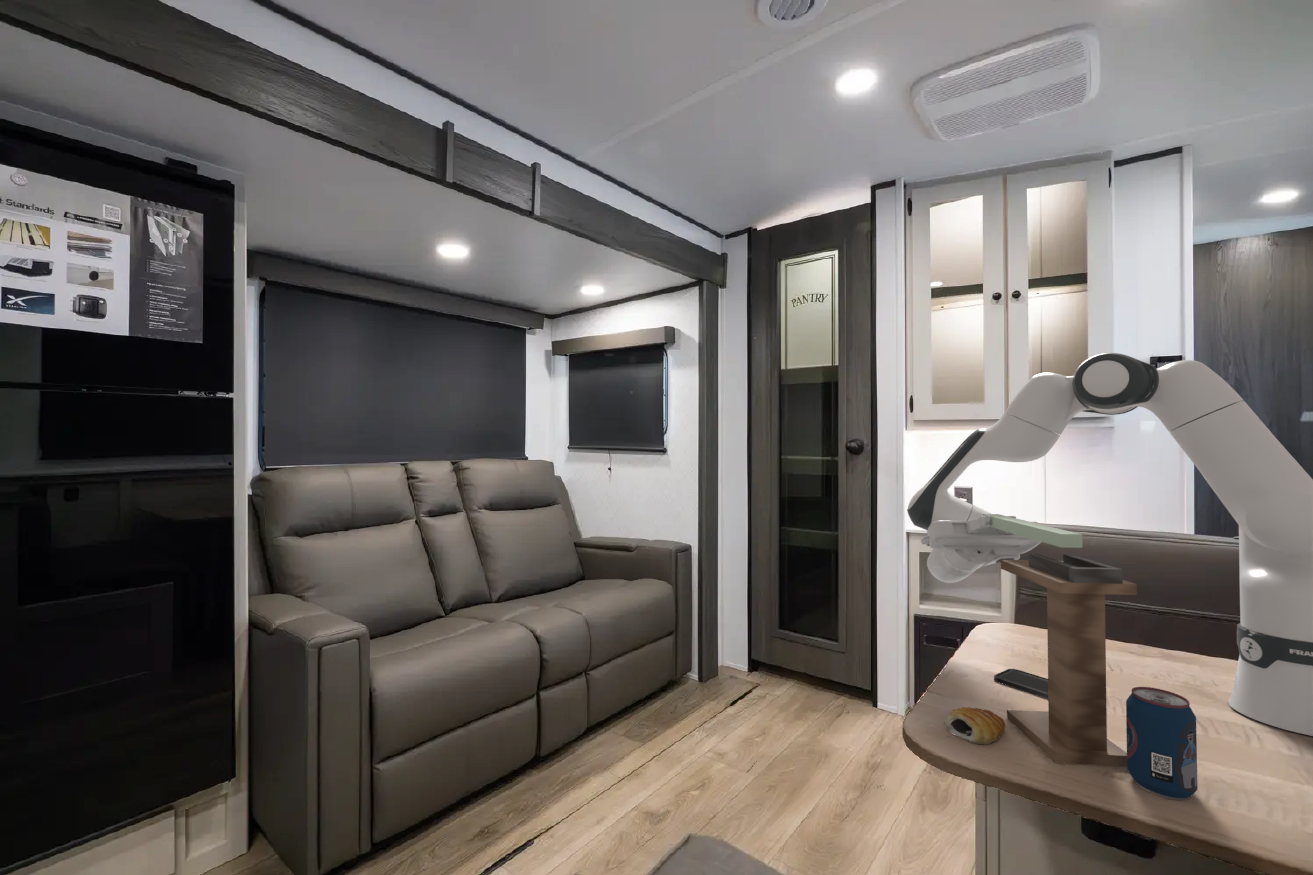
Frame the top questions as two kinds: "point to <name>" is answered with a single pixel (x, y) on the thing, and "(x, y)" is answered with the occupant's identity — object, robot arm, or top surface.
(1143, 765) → the soda can
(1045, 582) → the stand
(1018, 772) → the top surface
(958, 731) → the pastry
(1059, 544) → the slat
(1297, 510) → the robot arm
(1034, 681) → the phone
